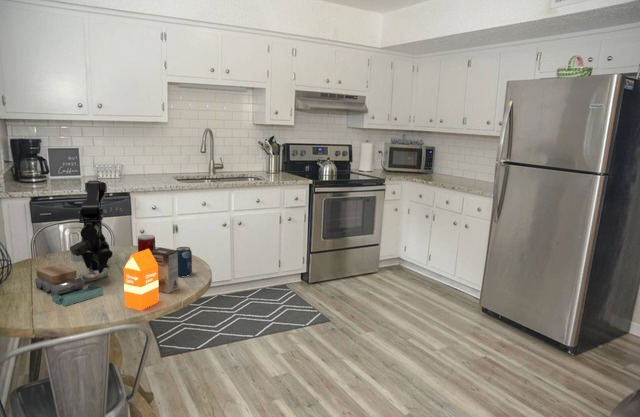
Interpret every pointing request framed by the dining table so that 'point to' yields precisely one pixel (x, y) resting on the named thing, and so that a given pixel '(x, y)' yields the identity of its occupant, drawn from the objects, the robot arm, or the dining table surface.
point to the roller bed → (69, 287)
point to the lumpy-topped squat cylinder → (76, 258)
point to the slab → (56, 274)
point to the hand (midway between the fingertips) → (94, 270)
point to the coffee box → (166, 269)
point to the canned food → (146, 242)
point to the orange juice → (141, 280)
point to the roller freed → (93, 275)
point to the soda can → (184, 261)
